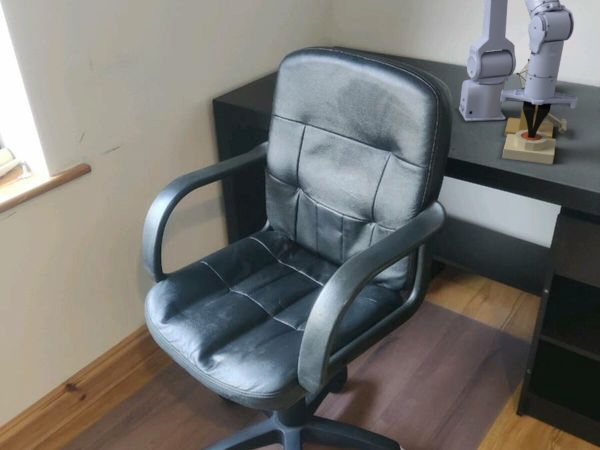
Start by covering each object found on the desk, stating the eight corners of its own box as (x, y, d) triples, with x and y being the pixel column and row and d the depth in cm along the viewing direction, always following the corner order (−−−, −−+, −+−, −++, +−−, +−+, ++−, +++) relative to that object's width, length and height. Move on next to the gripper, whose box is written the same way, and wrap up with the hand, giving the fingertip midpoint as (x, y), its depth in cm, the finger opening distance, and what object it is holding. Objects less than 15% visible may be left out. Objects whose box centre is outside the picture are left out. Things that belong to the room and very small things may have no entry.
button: (539, 140, 132) (541, 133, 131) (538, 148, 129) (539, 140, 128) (522, 138, 133) (523, 131, 132) (520, 145, 130) (521, 138, 129)
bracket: (552, 127, 143) (559, 94, 139) (551, 141, 137) (557, 107, 132) (508, 122, 146) (512, 89, 142) (504, 135, 140) (509, 102, 136)
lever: (561, 126, 141) (569, 118, 139) (560, 136, 137) (568, 128, 135) (525, 102, 141) (532, 93, 139) (523, 111, 137) (530, 102, 135)
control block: (554, 148, 134) (557, 131, 132) (552, 164, 128) (555, 147, 125) (506, 142, 137) (508, 125, 135) (502, 158, 131) (504, 141, 129)
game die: (535, 103, 164) (564, 73, 160) (529, 102, 157) (559, 71, 153) (511, 81, 167) (539, 51, 162) (503, 79, 160) (532, 48, 155)
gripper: (502, 76, 122) (493, 139, 129) (581, 83, 117) (567, 148, 125) (506, 65, 128) (497, 126, 135) (582, 71, 123) (568, 134, 130)
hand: (531, 136), depth 130 cm, fingers closed, pressing on button
